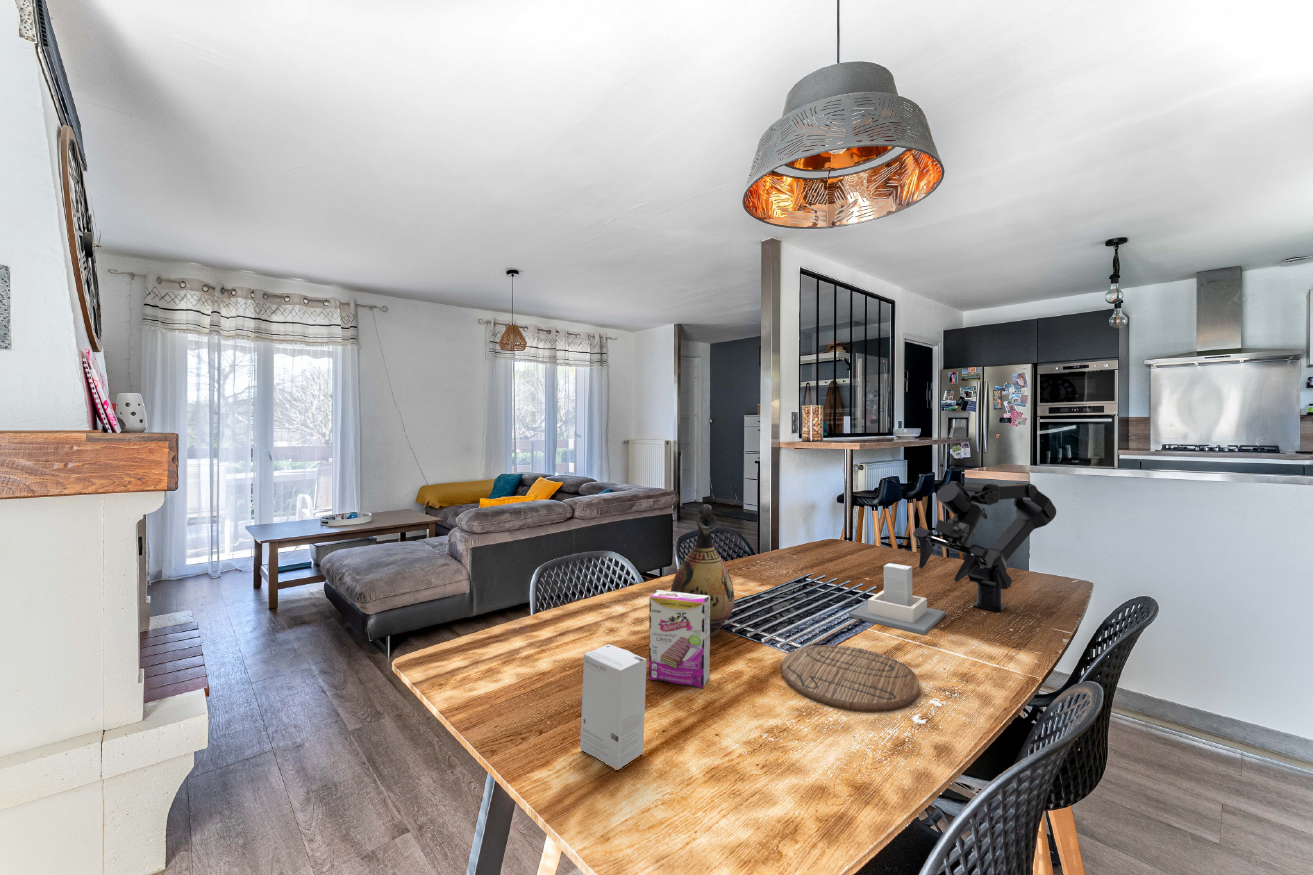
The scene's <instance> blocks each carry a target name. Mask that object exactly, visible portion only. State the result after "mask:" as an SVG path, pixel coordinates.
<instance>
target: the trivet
mask: <svg viewBox="0 0 1313 875" xmlns="http://www.w3.org/2000/svg"><path fill="white" fill-rule="evenodd" d="M781 673H782V674H781V675H782V680H784V681H785V683H786V684H787V686H789V687H790V688H791V689H792V690H794V691H795V692H796V693H798V694H799V695H801V696H803V697H805V698H807V699H809V700H811V701H813V702H816V703H819V704H822V705H825V706H828V707H831V708H836V709H840V710H841V709H842V710H846V711H851V712H852V711H853V712H865V713H881V712H892V711H898V710H900V709H905V708H906V707H908V706H911V704H914V703H915V702H916V701H917V699H918V698H919V697H920V683H919V682H920V680H919V678H918V676H917V674H915V672H914V671H913V669H911V668H910V667H908V666H907V665H905V663H903V662H901V661H899V660H897V659H895V658H894V657H891V656H888V655H885V654H883V653H879V652H878V651H872V650H869V649H864V648H861V647H855V646H848V645H837V644H836V645H833V644H826V645H825V644H824V645H821V644H820V645H812V646H804V647H800V648H798V649H796V650H793V651H791V652H790V653H788V654H787V655H785V657H784V658H783V660H782V662H781Z"/></svg>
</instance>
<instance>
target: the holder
mask: <svg viewBox="0 0 1313 875" xmlns="http://www.w3.org/2000/svg"><path fill="white" fill-rule="evenodd" d="M867 602H868V613H871V614H875V615H880V616H884V617H889V618H893V619H897V620H902V621H906V622H911V623H914V622H915V621H916V620H917V619H919V618H920V617H921V616H922V615H924V614H925V613H926V612H927V608H928V598H926V597H922V596H917V595H912V606H911V607H908V606H904V605H899V604H894V603H889V602H884V589H882V590H881V591H879V592H878V593H876V594H874V595H873V596H871V597H870V598H867Z"/></svg>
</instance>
